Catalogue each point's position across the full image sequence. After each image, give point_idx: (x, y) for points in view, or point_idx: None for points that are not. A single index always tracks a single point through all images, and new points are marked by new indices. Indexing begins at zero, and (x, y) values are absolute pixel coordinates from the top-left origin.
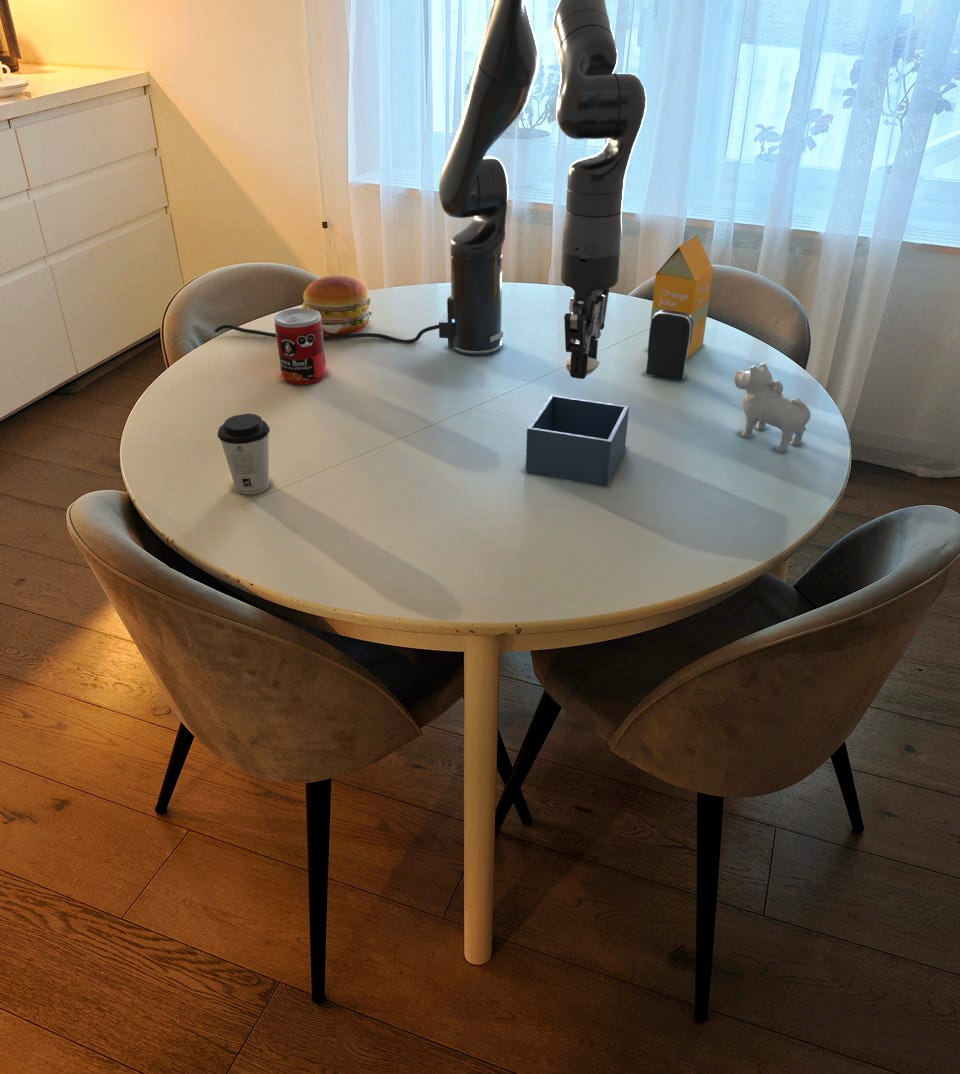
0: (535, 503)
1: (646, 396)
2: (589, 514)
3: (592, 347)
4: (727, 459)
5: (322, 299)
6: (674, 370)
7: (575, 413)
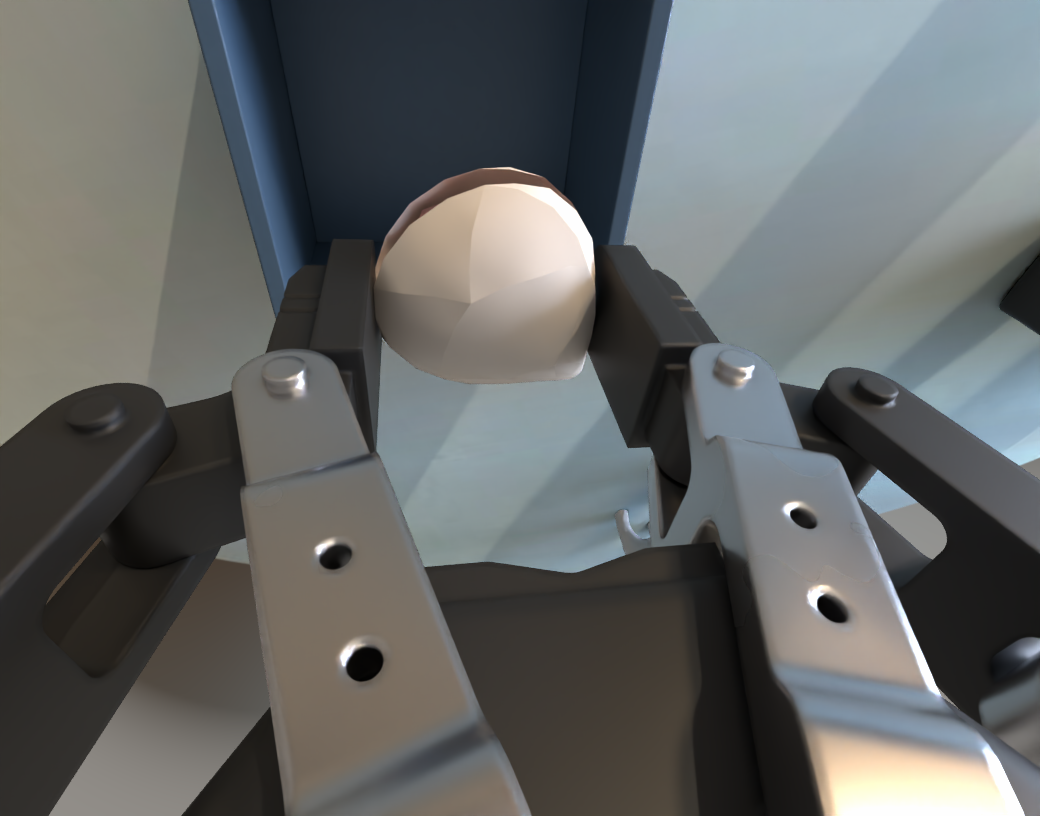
0: (6, 14)
1: (924, 234)
2: (102, 237)
3: (618, 386)
4: (564, 455)
5: None
6: (1036, 301)
7: (612, 85)
